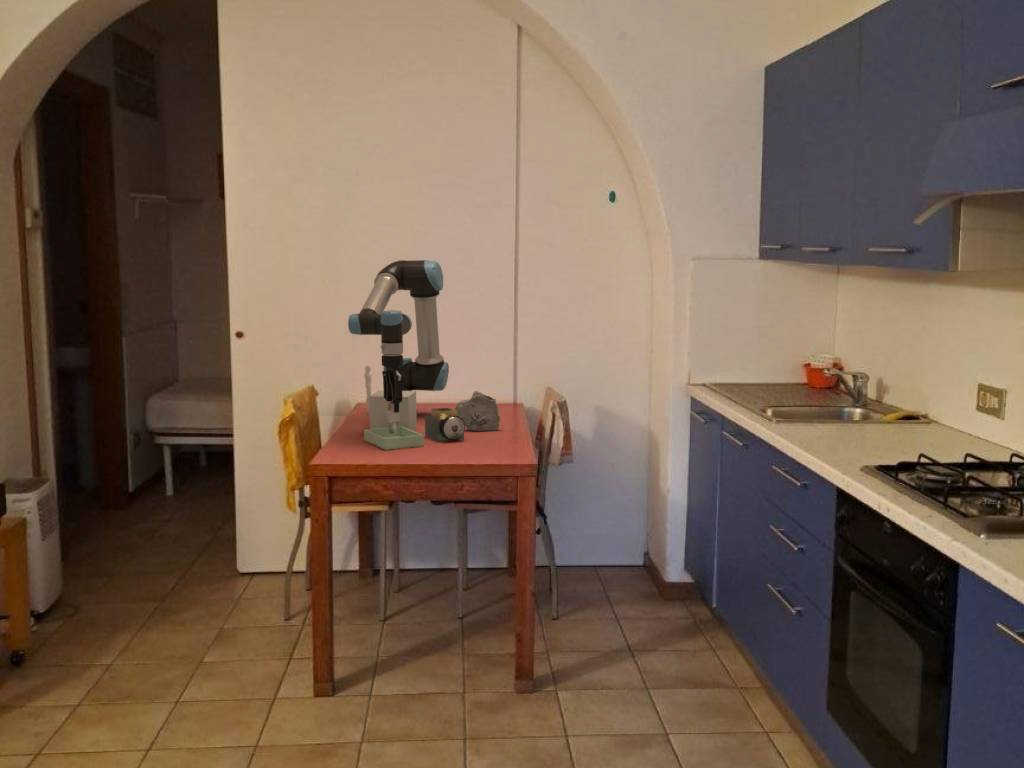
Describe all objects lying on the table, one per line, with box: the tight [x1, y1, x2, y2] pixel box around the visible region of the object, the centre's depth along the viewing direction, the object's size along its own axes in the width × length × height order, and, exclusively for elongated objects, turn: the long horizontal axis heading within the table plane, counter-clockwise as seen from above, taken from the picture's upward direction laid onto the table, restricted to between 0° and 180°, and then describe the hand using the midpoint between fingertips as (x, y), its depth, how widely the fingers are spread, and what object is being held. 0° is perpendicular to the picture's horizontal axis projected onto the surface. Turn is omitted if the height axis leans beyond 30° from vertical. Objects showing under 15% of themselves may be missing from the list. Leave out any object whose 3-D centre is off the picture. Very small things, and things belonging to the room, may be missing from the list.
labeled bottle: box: [388, 405, 399, 434], centre depth 358 cm, size 4×4×10 cm
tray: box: [363, 426, 425, 451], centre depth 359 cm, size 20×15×4 cm
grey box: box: [363, 365, 418, 431], centre depth 379 cm, size 15×18×25 cm
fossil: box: [454, 390, 501, 432], centre depth 382 cm, size 17×7×15 cm, turn 93°
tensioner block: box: [424, 407, 466, 443], centre depth 367 cm, size 15×10×10 cm, turn 29°
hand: (393, 420), depth 358 cm, fingers closed on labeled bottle, 4 cm apart
